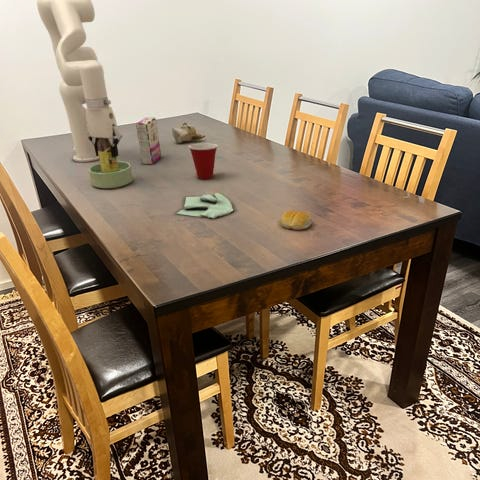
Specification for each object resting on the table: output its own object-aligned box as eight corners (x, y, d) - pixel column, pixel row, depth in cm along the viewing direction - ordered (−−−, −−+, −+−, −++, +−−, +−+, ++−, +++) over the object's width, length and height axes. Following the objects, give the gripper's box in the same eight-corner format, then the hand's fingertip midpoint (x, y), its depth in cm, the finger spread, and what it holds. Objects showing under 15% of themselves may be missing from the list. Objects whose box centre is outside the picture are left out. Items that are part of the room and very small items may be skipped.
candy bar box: (150, 156, 210) (145, 117, 200) (161, 157, 209) (156, 117, 199) (141, 164, 201) (135, 123, 191) (152, 164, 200) (146, 123, 190)
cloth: (216, 222, 146) (216, 214, 145) (161, 210, 156) (160, 203, 155) (250, 200, 160) (250, 193, 159) (198, 191, 170) (197, 184, 169)
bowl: (83, 184, 181) (80, 168, 178) (117, 174, 191) (114, 159, 187) (107, 192, 173) (104, 176, 169) (141, 181, 182) (138, 165, 178)
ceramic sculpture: (166, 122, 225) (194, 119, 232) (168, 141, 230) (195, 138, 237) (177, 126, 218) (205, 123, 225) (178, 146, 222) (206, 142, 229)
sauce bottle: (114, 182, 177) (104, 125, 166) (100, 181, 179) (88, 125, 168) (123, 176, 182) (113, 121, 171) (108, 175, 184) (98, 120, 173)
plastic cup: (223, 173, 186) (221, 141, 179) (213, 182, 178) (211, 149, 171) (198, 171, 189) (195, 140, 183) (186, 180, 181) (183, 147, 174)
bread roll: (288, 217, 147) (288, 205, 145) (314, 222, 143) (315, 210, 141) (275, 227, 142) (275, 214, 140) (302, 232, 138) (302, 219, 135)
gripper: (124, 102, 166) (133, 154, 176) (83, 100, 172) (94, 151, 182) (112, 106, 160) (121, 160, 170) (70, 104, 166) (81, 157, 176)
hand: (107, 155), depth 176 cm, fingers closed on sauce bottle, 6 cm apart
